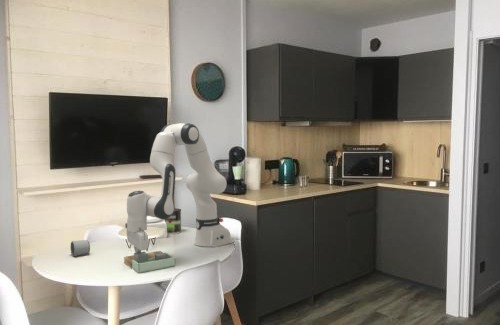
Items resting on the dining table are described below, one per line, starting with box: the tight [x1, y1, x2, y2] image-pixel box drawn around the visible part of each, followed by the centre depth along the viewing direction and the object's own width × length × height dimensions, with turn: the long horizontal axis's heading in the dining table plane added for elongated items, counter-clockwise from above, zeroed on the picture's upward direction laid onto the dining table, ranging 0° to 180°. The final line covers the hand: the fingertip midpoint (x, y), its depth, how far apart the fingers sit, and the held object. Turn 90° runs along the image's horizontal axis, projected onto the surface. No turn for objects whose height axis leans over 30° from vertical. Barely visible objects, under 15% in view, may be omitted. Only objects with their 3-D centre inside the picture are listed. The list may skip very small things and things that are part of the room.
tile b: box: [133, 251, 148, 262], centre depth 198 cm, size 5×5×3 cm
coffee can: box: [164, 207, 182, 235], centre depth 268 cm, size 10×10×14 cm
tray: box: [131, 253, 176, 274], centre depth 197 cm, size 17×9×4 cm, turn 123°
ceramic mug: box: [70, 239, 91, 257], centre depth 221 cm, size 11×8×8 cm
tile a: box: [155, 252, 169, 261], centre depth 199 cm, size 5×5×3 cm
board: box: [123, 250, 164, 269], centre depth 205 cm, size 18×10×3 cm, turn 123°
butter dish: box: [147, 216, 168, 240], centre depth 259 cm, size 18×18×16 cm
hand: (138, 255), depth 201 cm, fingers closed
